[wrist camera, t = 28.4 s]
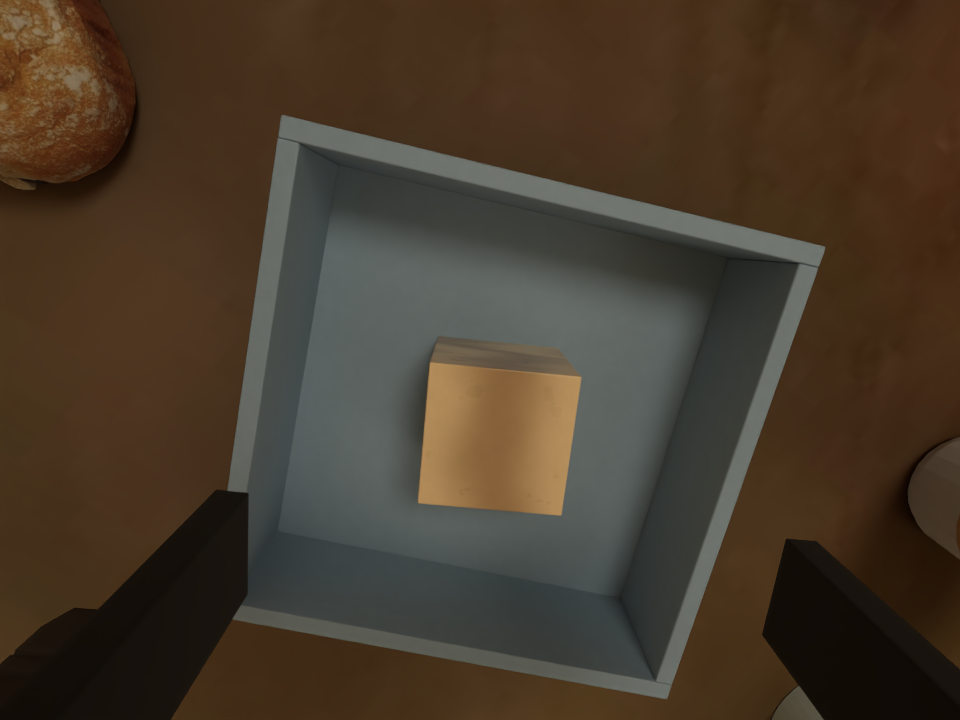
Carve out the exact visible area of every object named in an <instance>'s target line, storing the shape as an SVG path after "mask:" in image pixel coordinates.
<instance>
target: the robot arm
mask: <svg viewBox="0 0 960 720" xmlns="http://www.w3.org/2000/svg"><path fill="white" fill-rule="evenodd" d="M248 515H249V493H246V492H234V491H223V490H216V491H215V492H214V493H213V494H212V495H211V496H210V497H209V498H208V499H207V500H206V501H205V502H204V503H203V504H202V505H201V506H200V507H199V508H198V509H197V510H196V511H195V512H194V513H193V514H192V515H191V516H190V517H189V518H188V519H187V520H186V521H185V522H184V523H183V524H182V525H181V526H180V527H179V528H178V529H177V530H176V531H175V532H174V533H173V534H172V535H171V536H170V537H169V538H168V539H167V540H166V541H165V542H164V543H163V544H162V545H161V546H160V547H159V548H158V549H157V550H156V551H155V552H154V553H153V554H152V555H151V556H150V557H149V558H148V559H147V560H146V561H145V562H144V563H143V564H142V565H141V566H140V567H139V568H138V569H137V571H136V572H135V573H134V574H133V575H132V576H131V577H130V578H129V579H128V580H127V581H126V582H125V583H124V584H123V585H122V586H121V587H120V588H119V589H118V590H117V591H116V592H115V593H114V594H113V595H112V596H111V597H110V598H109V599H108V600H107V601H106V602H105V603H104V604H103V605H102V606H101V607H100V608H99V609H98V610H97V609H84V608H73V609H71V610H70V611H68V612H66V613H64V614H63V615H61V616H59V617H57V618H56V619H54V620H52V621H50V622H48V623H47V624H45V625H43V626H41V627H40V628H39V629H38V630H37V631H36V632H35V633H34V634H33V635H31V636H30V637H29V638H28V639H27V640H26V641H25V642H24V643H23V644H22V645H21V646H20V647H18V648H17V649H16V650H15V653H14V655H10V656H9V657H8V658H6V659H5V660H4V661H3V662H2V663H1V664H0V720H171V718H172V716H173V715H174V713H175V712H176V710H177V708H178V707H179V705H180V703H181V702H182V700H183V699H184V697H185V695H186V694H187V692H188V690H189V689H190V687H191V686H192V684H193V682H194V681H195V679H196V677H197V676H198V674H199V673H200V671H201V669H202V668H203V666H204V664H205V663H206V661H207V660H208V658H209V656H210V655H211V653H212V651H213V650H214V648H215V647H216V645H217V643H218V642H219V640H220V638H221V637H222V635H223V634H224V632H225V630H226V629H227V627H228V625H229V624H230V622H231V621H232V619H233V617H234V616H235V614H236V612H237V611H238V609H239V608H240V606H241V604H242V603H243V601H244V599H245V598H246V596H247V595H248ZM762 635H763V637H764V638H765V639H766V641H767V642H768V644H769V645H770V646H771V648H772V649H773V650H774V652H775V653H776V655H777V656H778V657H779V659H780V660H781V662H782V663H783V664H784V666H785V667H786V668H787V670H788V671H789V673H790V674H791V675H792V677H793V678H794V679H795V681H796V682H797V684H798V685H799V686H800V688H801V689H802V690H803V692H804V693H805V695H806V696H807V697H808V699H809V700H810V701H811V703H812V704H813V706H814V707H815V708H816V710H817V711H818V713H819V714H820V715H821V717H822V718H823V719H824V720H960V669H959V668H958V667H956V666H955V665H954V664H953V663H952V662H951V661H950V660H949V659H947V658H946V657H945V656H944V655H943V654H942V653H941V652H940V651H939V650H937V649H936V648H935V647H934V646H933V645H932V644H931V643H930V642H928V641H927V640H926V639H925V638H924V637H923V636H922V635H921V634H919V633H918V632H917V631H916V630H915V629H914V628H913V627H912V626H911V625H909V624H908V623H907V622H906V621H905V620H904V619H903V618H902V617H900V616H899V615H898V614H897V613H896V612H895V611H894V610H893V609H891V608H890V607H889V606H888V605H887V604H886V603H885V602H884V601H883V600H881V599H880V598H879V597H878V596H877V595H876V594H875V593H874V592H872V591H871V590H870V589H869V588H868V587H867V586H866V585H865V584H863V583H862V582H861V581H860V580H859V579H858V578H857V577H856V576H855V575H853V574H852V573H851V572H850V571H849V570H848V569H847V568H846V567H844V566H843V565H842V564H841V563H840V562H839V561H838V560H837V559H835V558H834V557H833V556H832V555H831V554H830V553H829V552H828V551H827V550H825V549H824V548H823V547H822V546H821V545H820V544H819V543H818V542H816V541H806V540H795V539H786V541H785V545H784V549H783V553H782V557H781V561H780V565H779V569H778V573H777V577H776V581H775V585H774V589H773V593H772V597H771V601H770V605H769V609H768V613H767V617H766V621H765V625H764V629H763V633H762Z"/></svg>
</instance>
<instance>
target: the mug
mask: <svg viewBox="0 0 960 720" xmlns="http://www.w3.org/2000/svg"><path fill="white" fill-rule="evenodd" d="M771 720H824V719H823V718H822V717H821V715H820V714H819V713H818V711H817V710H816V708H815V707H814V706H813V704H812V703H811V701H810V700H809V699H808V697H807V696H806V695H805V693H804V692H803V690H802V689H801V688H800V686H798V687H797V688H795V689H794V690H793V691H792V692H791V693H790V694H789V695H788V696H787V697H786V698H785V699H784V700H783V701H782V702H781V704H780V705H779V706H778V708H777V709H776V711H775V713H774V715H773V717H772V719H771Z"/></svg>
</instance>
